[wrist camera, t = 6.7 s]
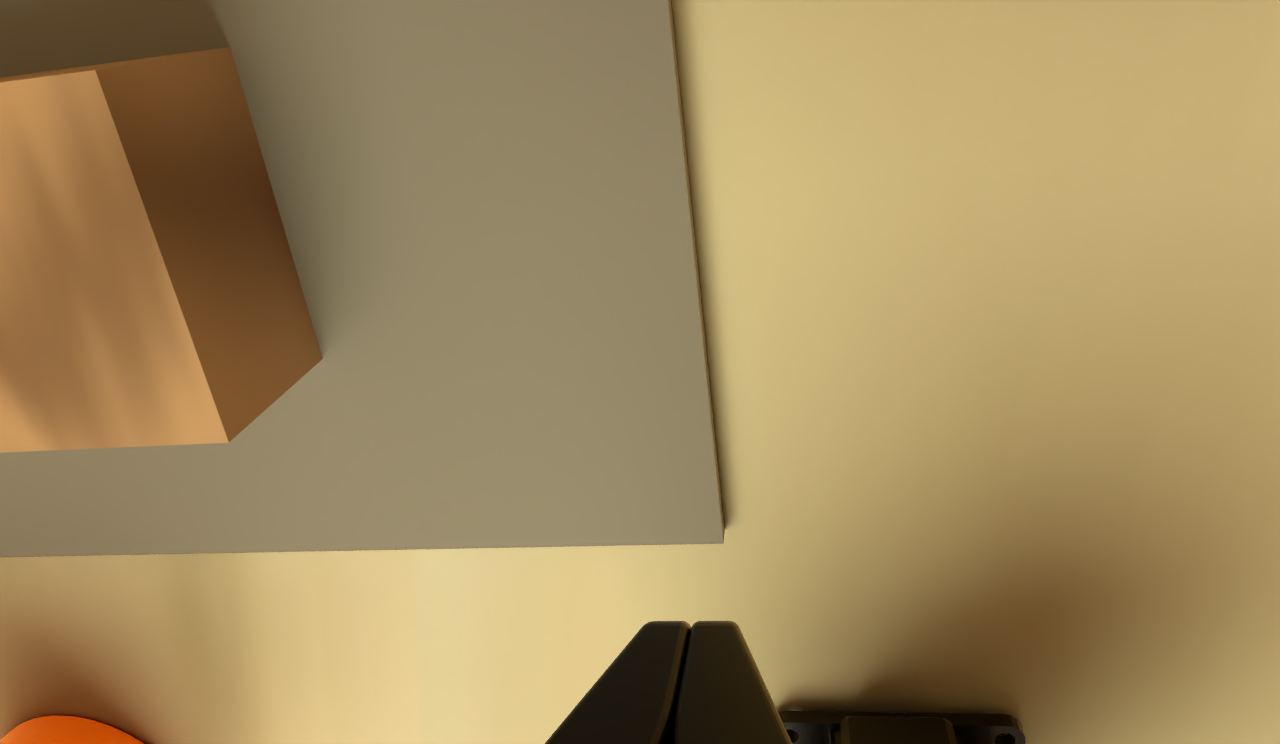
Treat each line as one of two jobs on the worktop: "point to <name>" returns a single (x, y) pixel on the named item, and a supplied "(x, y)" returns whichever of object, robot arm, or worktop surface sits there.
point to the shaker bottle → (66, 732)
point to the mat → (427, 286)
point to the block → (140, 259)
